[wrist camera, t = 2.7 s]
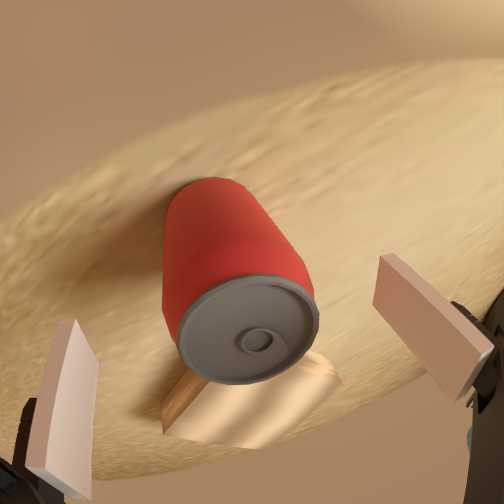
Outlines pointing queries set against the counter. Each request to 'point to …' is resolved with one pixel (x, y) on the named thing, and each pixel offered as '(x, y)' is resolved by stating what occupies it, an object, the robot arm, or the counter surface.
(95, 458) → the counter surface
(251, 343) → the beer can
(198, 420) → the maple base
